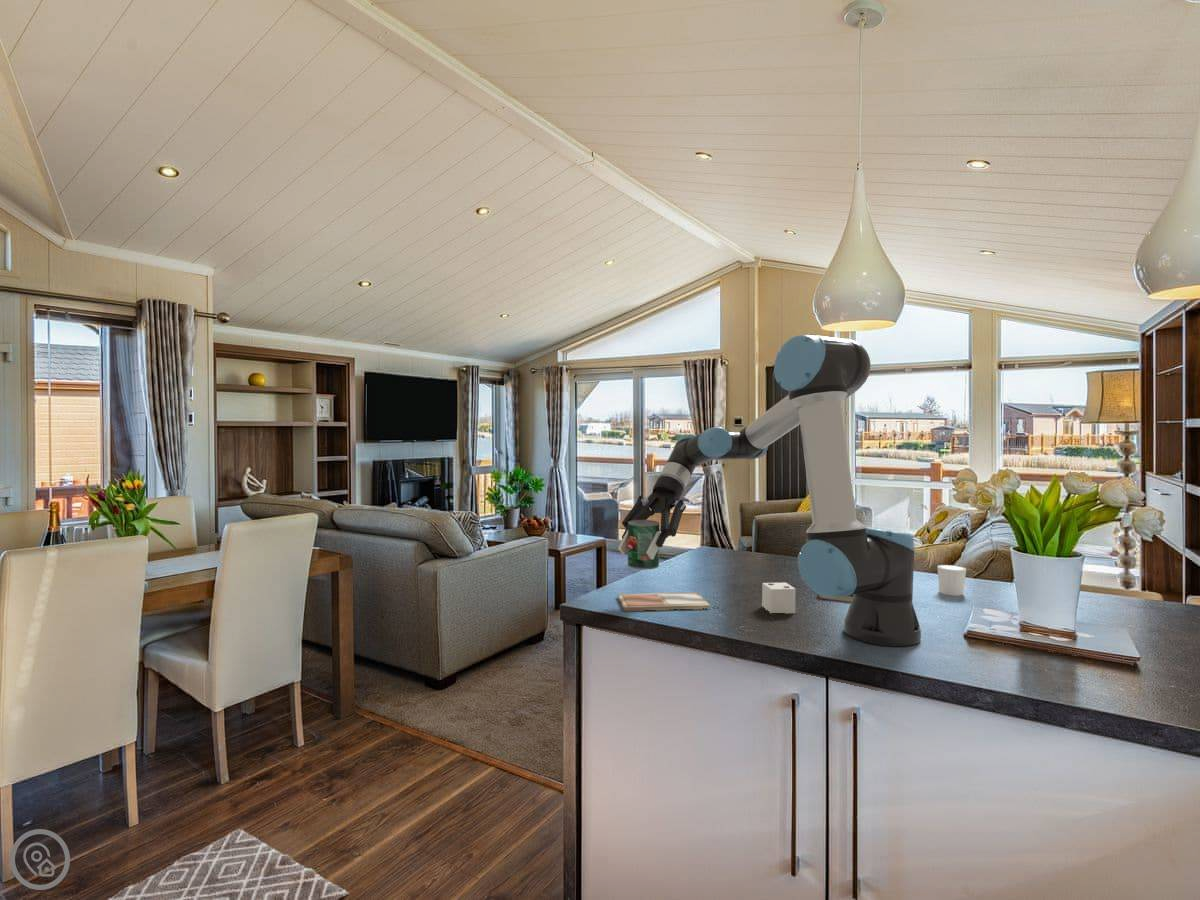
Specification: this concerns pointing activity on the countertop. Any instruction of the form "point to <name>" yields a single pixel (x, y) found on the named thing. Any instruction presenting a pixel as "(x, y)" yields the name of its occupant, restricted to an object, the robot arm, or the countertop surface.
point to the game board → (662, 601)
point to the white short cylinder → (951, 579)
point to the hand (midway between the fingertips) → (635, 553)
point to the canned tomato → (641, 544)
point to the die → (778, 597)
